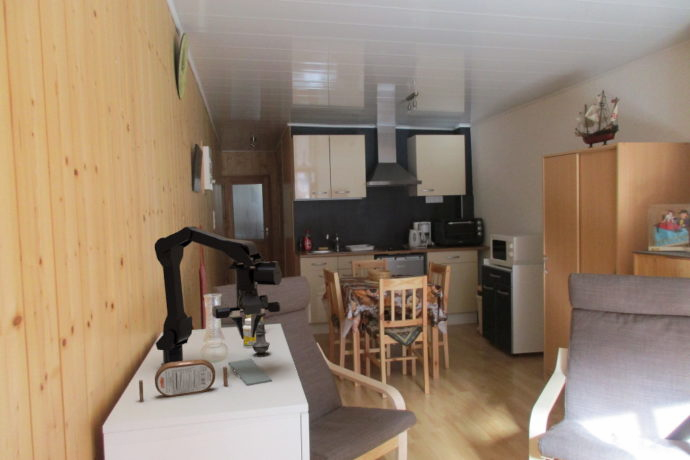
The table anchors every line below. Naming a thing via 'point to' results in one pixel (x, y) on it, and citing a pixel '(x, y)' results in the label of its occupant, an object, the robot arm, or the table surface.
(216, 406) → the table surface
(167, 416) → the table surface
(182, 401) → the table surface
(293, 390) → the table surface
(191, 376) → the tin
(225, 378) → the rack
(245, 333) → the supplement bottle
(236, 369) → the mat
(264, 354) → the salt shaker
